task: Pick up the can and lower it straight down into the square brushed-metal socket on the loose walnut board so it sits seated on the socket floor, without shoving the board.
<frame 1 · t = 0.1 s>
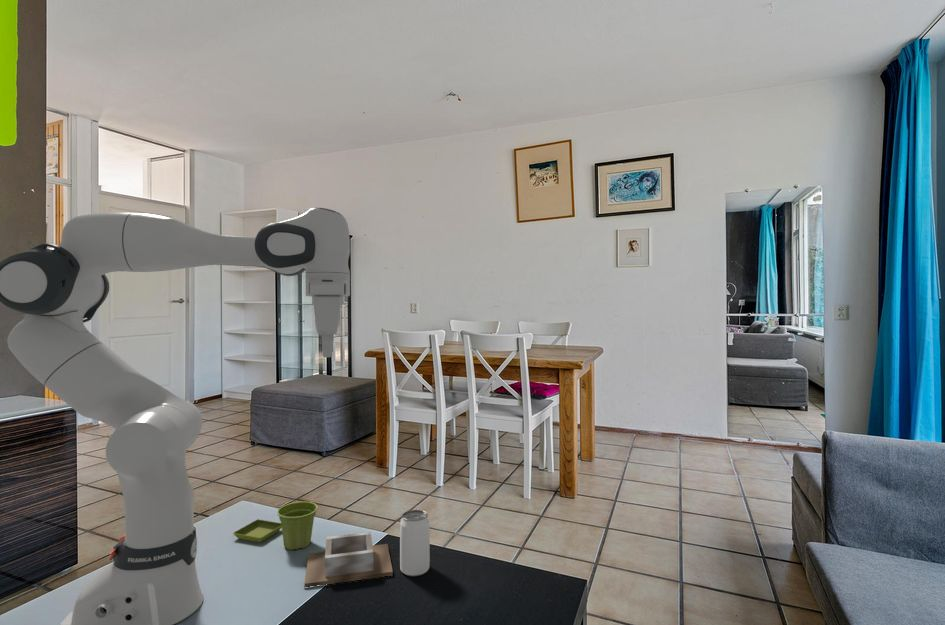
hand: (328, 354, 101), 48 cm above the table, tool pointing down, fingers open, 8 cm apart
socket board: (349, 568, 109), on the table
saucer: (259, 537, 124), on the table
plant pot: (297, 545, 119), on the table
can: (414, 570, 108), on the table
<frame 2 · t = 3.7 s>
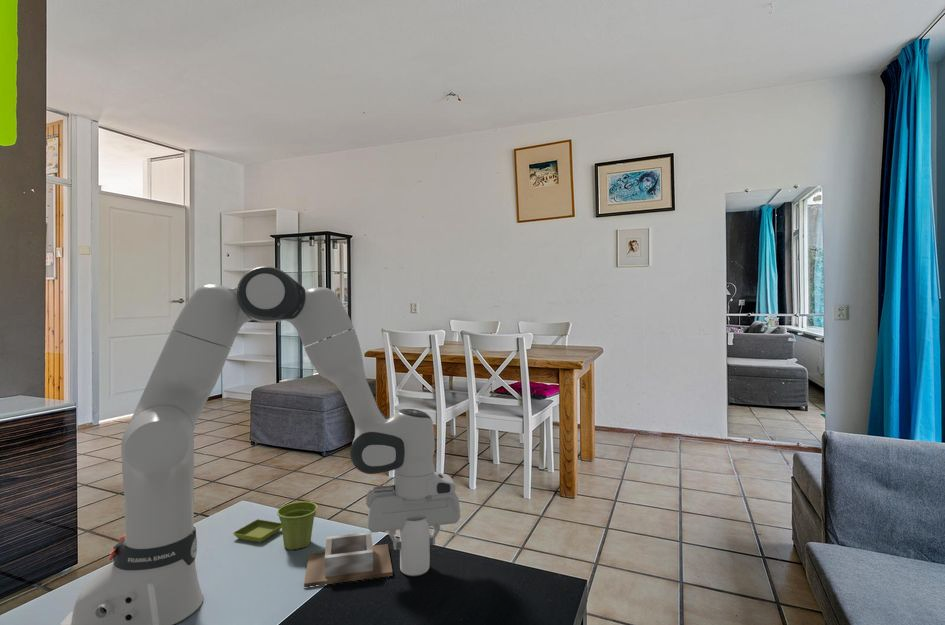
hand: (414, 546, 108), 5 cm above the table, tool pointing down, fingers closed on can, 6 cm apart
can: (414, 570, 108), on the table, touching gripper
everything else where it was.
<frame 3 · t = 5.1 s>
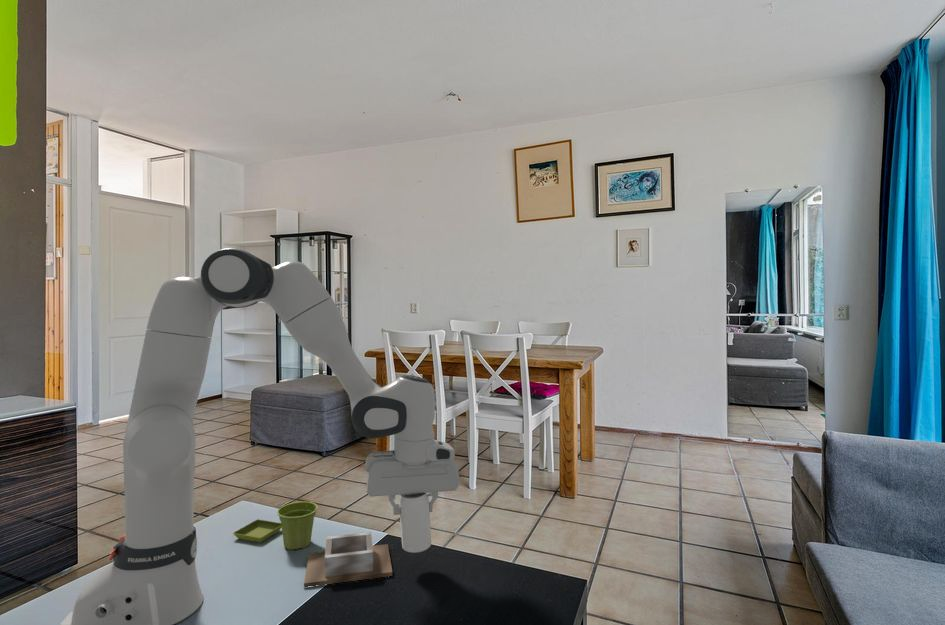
hand: (412, 512, 107), 13 cm above the table, tool pointing down, fingers closed on can, 6 cm apart
can: (417, 547, 108), point 5 cm above the table, touching gripper
everything else where it was.
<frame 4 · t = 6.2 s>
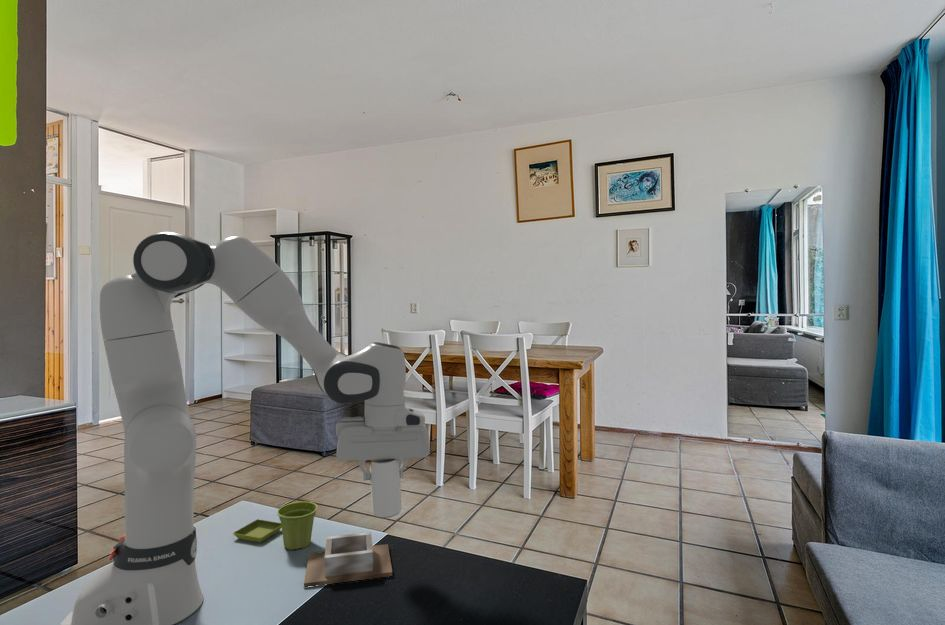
hand: (382, 478, 108), 20 cm above the table, tool pointing down, fingers closed on can, 6 cm apart
can: (387, 513, 108), point 12 cm above the table, touching gripper
everything else where it was.
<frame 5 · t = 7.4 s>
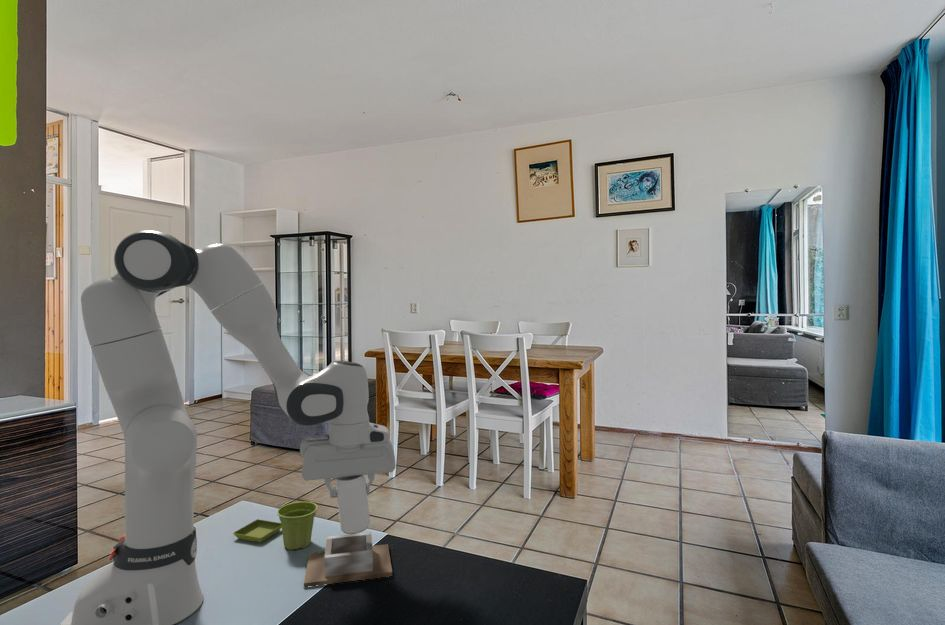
hand: (350, 495, 109), 16 cm above the table, tool pointing down, fingers closed on can, 6 cm apart
can: (355, 528, 109), point 8 cm above the table, touching gripper
everything else where it was.
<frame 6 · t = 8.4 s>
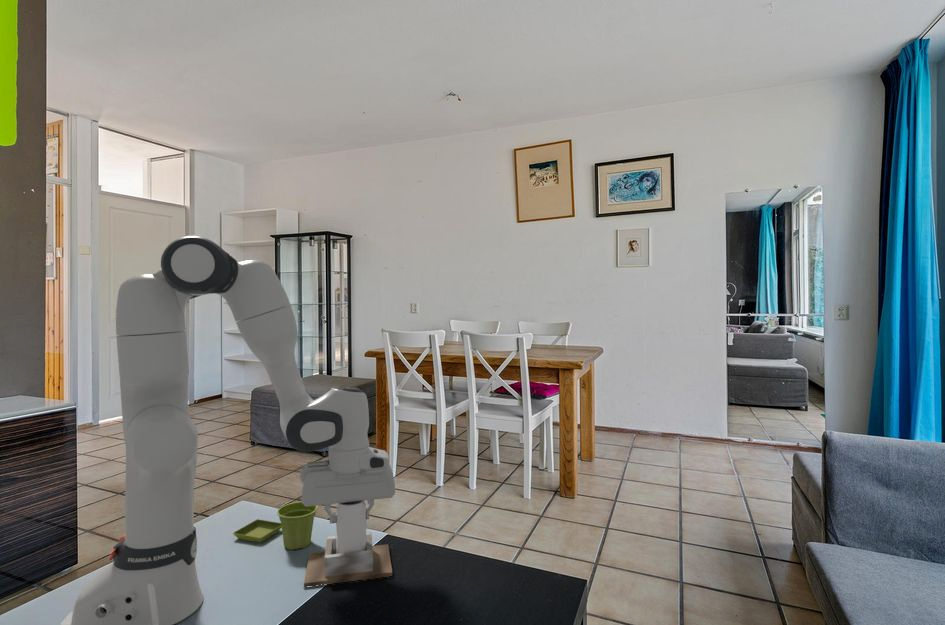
hand: (349, 520, 109), 10 cm above the table, tool pointing down, fingers closed on can, 6 cm apart
can: (351, 554, 109), point 3 cm above the table, touching gripper
everything else where it was.
when the fingers open (8 cm above the table, at t = 9.4 s): can stays where it is, resting on socket board.
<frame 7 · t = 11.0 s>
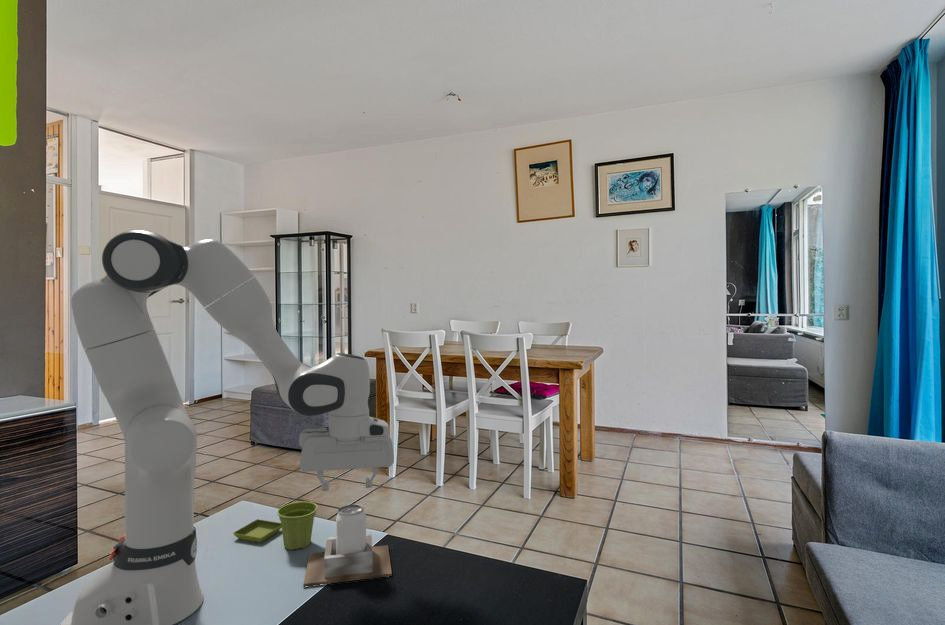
hand: (347, 488, 109), 17 cm above the table, tool pointing down, fingers open, 8 cm apart
socket board: (349, 569, 109), on the table, touching can
can: (351, 564, 109), point 1 cm above the table, touching socket board
everything else where it was.
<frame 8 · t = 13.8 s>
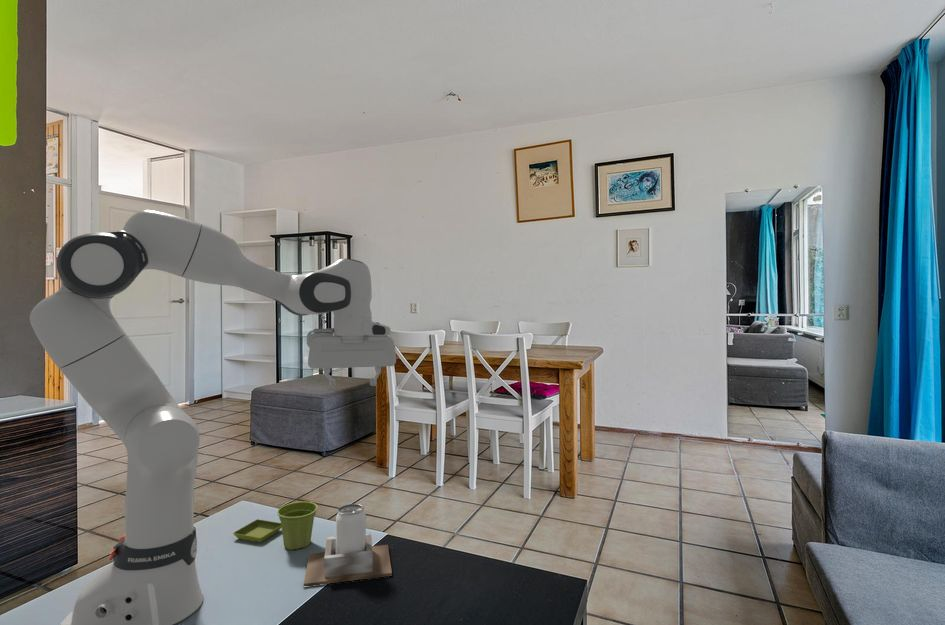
hand: (352, 386, 116), 39 cm above the table, tool pointing down, fingers open, 8 cm apart
nothing on the table moved.
at the end: can 0.4 cm off-centre on the socket board, point 1.3 cm above the socket board's base; can tilted 1°; socket board moved 0.8 cm from its start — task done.
